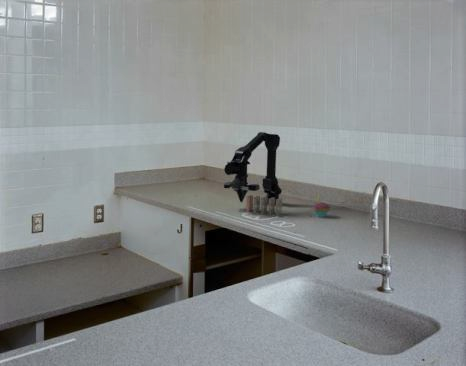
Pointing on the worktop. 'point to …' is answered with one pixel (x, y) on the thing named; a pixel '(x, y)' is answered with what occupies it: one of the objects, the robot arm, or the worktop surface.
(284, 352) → the worktop surface
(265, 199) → the domino
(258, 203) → the domino
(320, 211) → the cupcake
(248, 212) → the mat
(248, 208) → the domino
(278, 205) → the domino
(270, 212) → the domino
